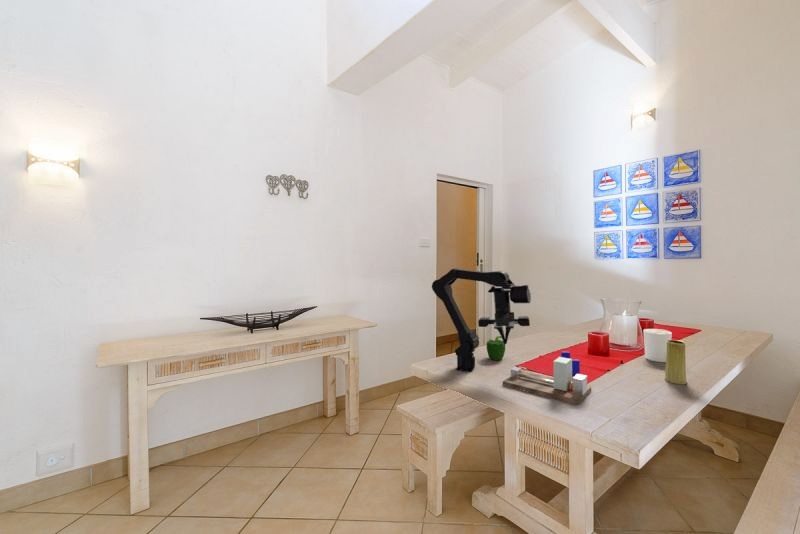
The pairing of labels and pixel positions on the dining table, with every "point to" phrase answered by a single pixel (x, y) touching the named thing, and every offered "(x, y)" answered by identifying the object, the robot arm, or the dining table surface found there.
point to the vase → (675, 362)
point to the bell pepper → (496, 349)
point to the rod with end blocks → (575, 385)
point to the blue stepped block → (574, 363)
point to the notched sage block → (562, 373)
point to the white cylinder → (656, 344)
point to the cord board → (544, 388)
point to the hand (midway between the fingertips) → (505, 343)
